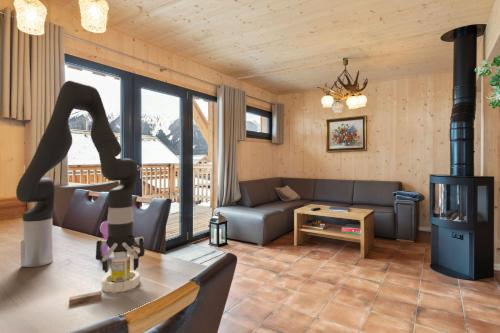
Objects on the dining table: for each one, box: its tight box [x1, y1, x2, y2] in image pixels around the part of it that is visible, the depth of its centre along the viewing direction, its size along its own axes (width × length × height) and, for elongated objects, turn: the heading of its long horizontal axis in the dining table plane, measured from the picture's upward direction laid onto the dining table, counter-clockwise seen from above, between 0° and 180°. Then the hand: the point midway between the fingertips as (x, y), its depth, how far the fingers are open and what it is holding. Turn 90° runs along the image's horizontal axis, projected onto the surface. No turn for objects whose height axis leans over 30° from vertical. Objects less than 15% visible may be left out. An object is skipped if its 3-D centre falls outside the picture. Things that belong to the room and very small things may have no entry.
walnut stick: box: [68, 290, 103, 307], centre depth 83 cm, size 8×2×2 cm, turn 119°
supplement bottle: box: [110, 251, 131, 283], centre depth 94 cm, size 6×6×10 cm
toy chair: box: [99, 220, 109, 255], centre depth 120 cm, size 8×9×15 cm
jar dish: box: [101, 269, 141, 294], centre depth 94 cm, size 11×11×3 cm
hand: (121, 270), depth 94 cm, fingers open, 8 cm apart
